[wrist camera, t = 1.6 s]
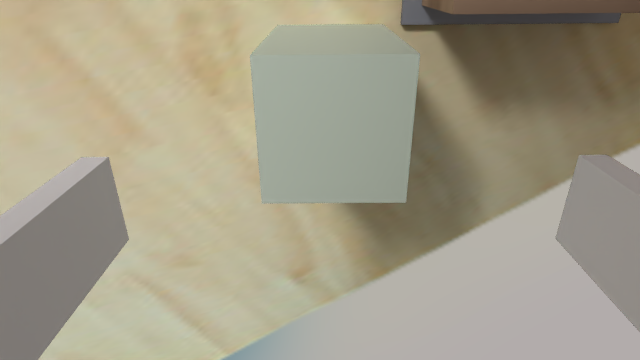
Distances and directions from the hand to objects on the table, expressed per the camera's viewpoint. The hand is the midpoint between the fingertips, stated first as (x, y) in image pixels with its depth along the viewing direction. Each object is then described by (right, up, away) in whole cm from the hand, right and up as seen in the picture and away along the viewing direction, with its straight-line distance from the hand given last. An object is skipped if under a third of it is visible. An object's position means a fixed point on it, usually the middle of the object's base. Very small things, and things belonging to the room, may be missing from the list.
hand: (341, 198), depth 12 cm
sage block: (0, +7, +13) cm, 15 cm away
